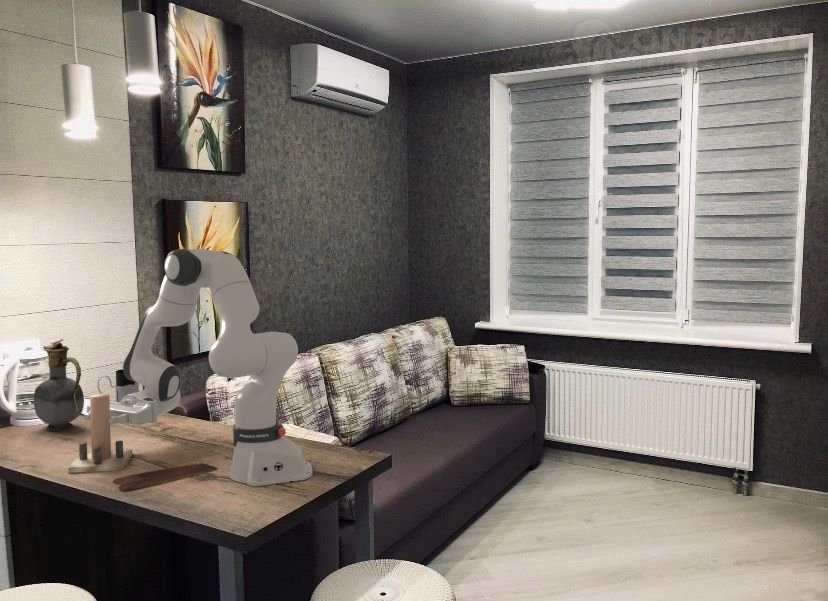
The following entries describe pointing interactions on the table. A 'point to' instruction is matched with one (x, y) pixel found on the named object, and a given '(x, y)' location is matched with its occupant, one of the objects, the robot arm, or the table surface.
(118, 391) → the glass holder
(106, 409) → the post
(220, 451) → the table surface
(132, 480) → the wooden tablet
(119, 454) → the peg stand
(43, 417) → the pitcher
